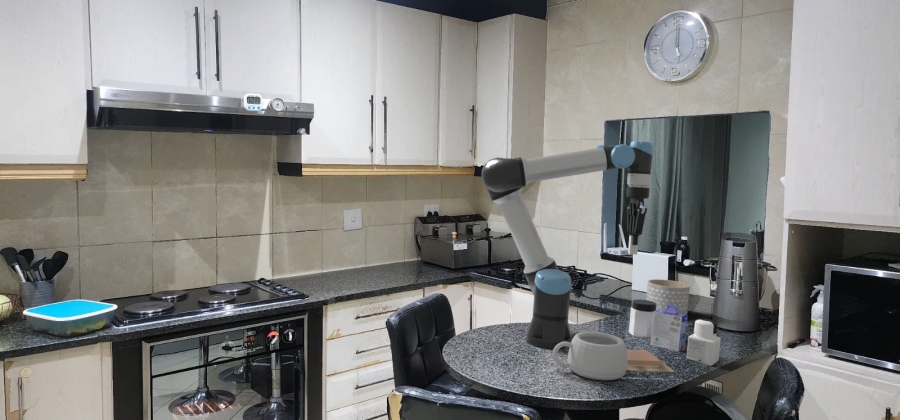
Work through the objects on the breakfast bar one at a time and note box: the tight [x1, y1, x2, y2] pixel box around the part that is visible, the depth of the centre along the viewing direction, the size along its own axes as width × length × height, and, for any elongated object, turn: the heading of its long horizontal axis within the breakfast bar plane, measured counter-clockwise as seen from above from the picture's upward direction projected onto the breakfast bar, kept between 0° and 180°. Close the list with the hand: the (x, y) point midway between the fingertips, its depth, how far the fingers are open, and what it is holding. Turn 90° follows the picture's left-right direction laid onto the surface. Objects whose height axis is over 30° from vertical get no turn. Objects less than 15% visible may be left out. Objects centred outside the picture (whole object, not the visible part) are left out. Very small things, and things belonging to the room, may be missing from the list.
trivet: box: [626, 351, 675, 373], centre depth 185 cm, size 16×18×1 cm
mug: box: [552, 331, 628, 381], centre depth 174 cm, size 21×17×10 cm
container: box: [686, 318, 722, 367], centre depth 191 cm, size 8×8×13 cm
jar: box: [628, 299, 656, 339], centre depth 217 cm, size 9×8×12 cm
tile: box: [627, 349, 660, 367], centre depth 185 cm, size 10×2×10 cm
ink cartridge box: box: [650, 304, 689, 352], centre depth 202 cm, size 10×6×14 cm, turn 49°
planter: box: [645, 279, 691, 315], centre depth 252 cm, size 16×16×13 cm
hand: (632, 254), depth 211 cm, fingers closed
